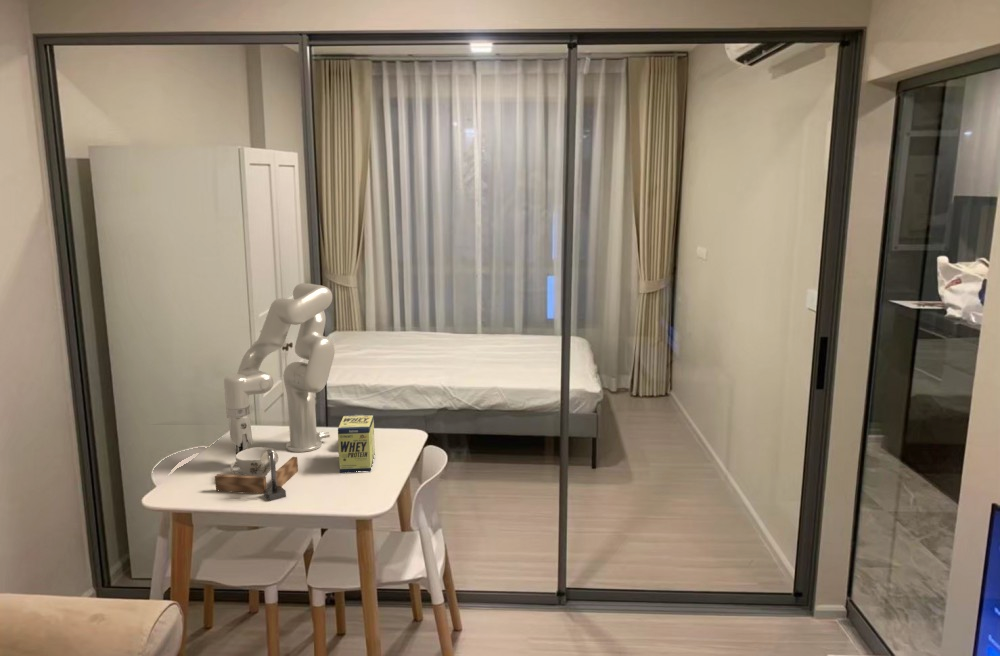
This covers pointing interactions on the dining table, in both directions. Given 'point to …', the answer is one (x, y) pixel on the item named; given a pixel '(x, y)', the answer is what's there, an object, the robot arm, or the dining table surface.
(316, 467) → the dining table surface
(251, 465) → the teacup
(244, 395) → the robot arm
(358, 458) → the protein box
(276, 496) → the dial stand
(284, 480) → the v block
